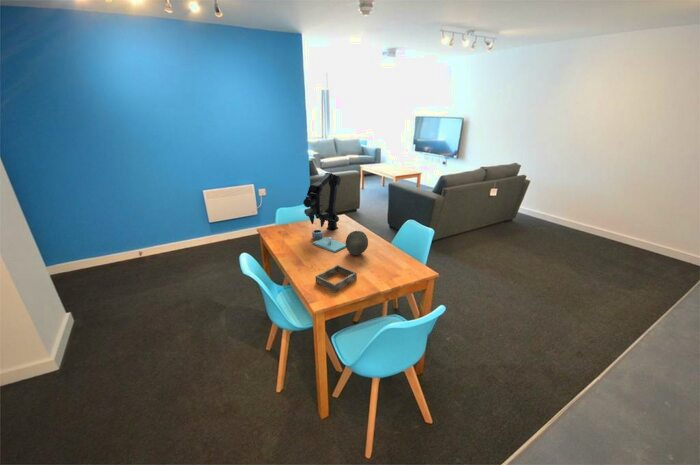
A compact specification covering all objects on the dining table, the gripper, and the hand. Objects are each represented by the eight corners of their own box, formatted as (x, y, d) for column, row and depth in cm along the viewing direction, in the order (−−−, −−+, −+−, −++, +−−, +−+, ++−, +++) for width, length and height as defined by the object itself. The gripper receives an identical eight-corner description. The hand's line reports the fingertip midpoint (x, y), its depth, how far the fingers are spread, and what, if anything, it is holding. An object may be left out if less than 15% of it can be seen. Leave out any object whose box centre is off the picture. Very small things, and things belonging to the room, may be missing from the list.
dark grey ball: (341, 256, 181) (340, 233, 176) (351, 247, 193) (351, 226, 187) (362, 261, 175) (362, 238, 170) (372, 252, 187) (372, 229, 181)
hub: (317, 235, 213) (317, 228, 211) (324, 237, 208) (324, 231, 206) (310, 238, 208) (310, 231, 206) (317, 240, 203) (317, 234, 202)
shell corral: (337, 271, 165) (337, 264, 163) (356, 279, 157) (356, 272, 155) (315, 283, 153) (315, 276, 152) (334, 292, 145) (334, 285, 144)
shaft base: (325, 238, 207) (325, 231, 205) (347, 246, 195) (347, 239, 193) (312, 244, 199) (312, 236, 197) (334, 252, 186) (334, 245, 185)
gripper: (297, 203, 199) (299, 225, 205) (316, 208, 187) (317, 232, 193) (310, 199, 206) (311, 221, 212) (329, 205, 195) (330, 227, 201)
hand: (317, 225), depth 205 cm, fingers open, 9 cm apart
